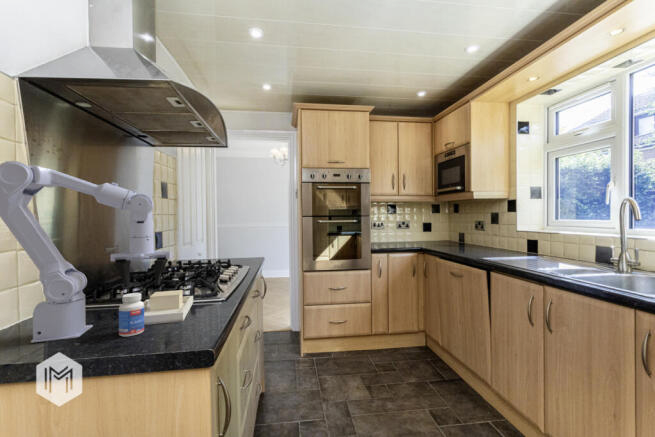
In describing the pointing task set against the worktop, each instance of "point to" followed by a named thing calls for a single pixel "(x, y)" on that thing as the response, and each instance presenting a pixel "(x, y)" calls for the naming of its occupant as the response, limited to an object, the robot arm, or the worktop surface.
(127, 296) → the pill bottle
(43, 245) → the robot arm
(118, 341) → the worktop surface
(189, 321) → the worktop surface
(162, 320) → the white tray
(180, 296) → the egg box
